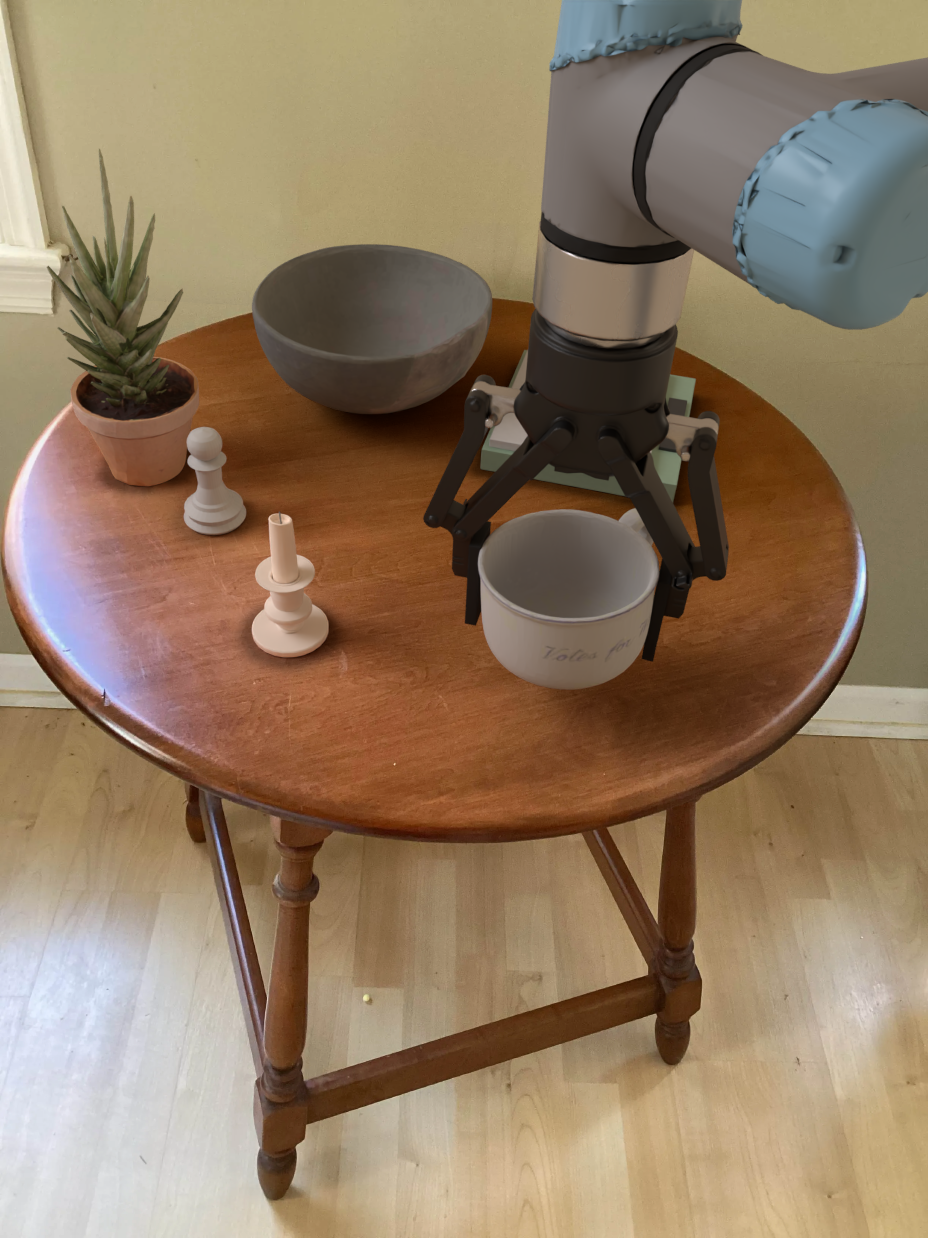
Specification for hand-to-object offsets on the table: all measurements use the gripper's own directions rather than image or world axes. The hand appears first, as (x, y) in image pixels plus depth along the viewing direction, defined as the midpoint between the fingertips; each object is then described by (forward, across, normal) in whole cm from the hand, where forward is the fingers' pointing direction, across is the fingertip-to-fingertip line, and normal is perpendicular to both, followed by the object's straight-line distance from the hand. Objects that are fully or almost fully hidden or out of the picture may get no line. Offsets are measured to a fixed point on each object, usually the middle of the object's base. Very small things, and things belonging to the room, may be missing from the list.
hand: (561, 628), depth 68 cm
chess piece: (+4, +28, -8) cm, 30 cm away
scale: (+3, +2, -29) cm, 30 cm away
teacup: (+1, -1, 0) cm, 2 cm away
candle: (+4, +18, +2) cm, 19 cm away
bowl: (+3, +22, -29) cm, 37 cm away
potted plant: (+3, +36, -13) cm, 39 cm away
